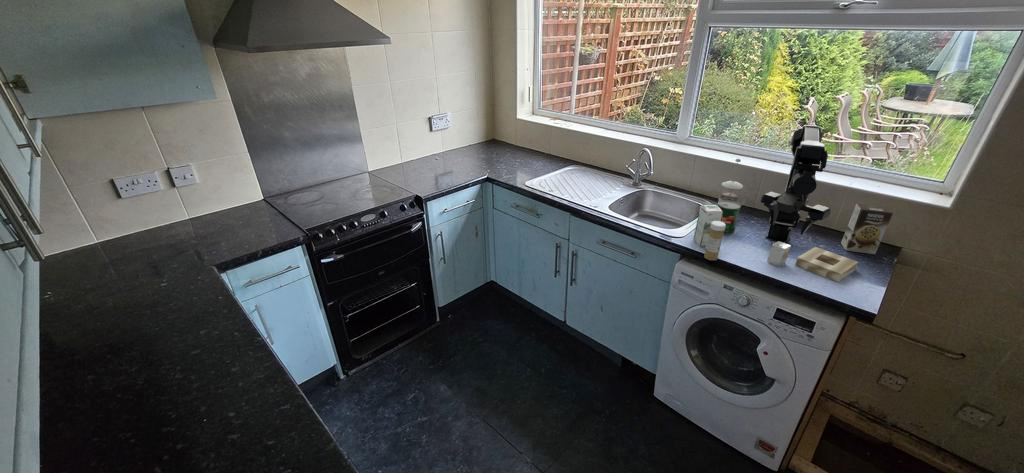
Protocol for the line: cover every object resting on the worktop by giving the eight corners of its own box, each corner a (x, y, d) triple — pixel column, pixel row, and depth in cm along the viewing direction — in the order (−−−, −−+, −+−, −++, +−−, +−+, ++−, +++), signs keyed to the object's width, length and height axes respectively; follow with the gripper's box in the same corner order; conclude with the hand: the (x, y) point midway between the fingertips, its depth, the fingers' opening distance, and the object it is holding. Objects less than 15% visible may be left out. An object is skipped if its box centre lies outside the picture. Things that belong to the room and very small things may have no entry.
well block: (794, 265, 147) (797, 257, 145) (812, 254, 153) (815, 246, 152) (838, 282, 137) (841, 274, 136) (855, 269, 144) (858, 261, 142)
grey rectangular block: (767, 262, 149) (772, 244, 146) (773, 258, 151) (778, 241, 148) (779, 267, 146) (784, 248, 143) (785, 263, 148) (790, 245, 145)
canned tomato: (731, 226, 174) (737, 201, 169) (736, 235, 167) (743, 209, 162) (710, 225, 175) (715, 200, 170) (715, 234, 168) (720, 207, 163)
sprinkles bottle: (710, 253, 154) (717, 219, 148) (720, 259, 151) (729, 224, 145) (700, 256, 153) (708, 221, 147) (711, 262, 149) (719, 227, 143)
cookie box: (845, 250, 155) (861, 209, 148) (840, 243, 161) (855, 202, 154) (876, 254, 153) (893, 213, 145) (869, 246, 158) (886, 206, 151)
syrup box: (708, 239, 164) (715, 204, 158) (714, 246, 159) (723, 210, 152) (693, 239, 164) (700, 204, 158) (699, 247, 159) (707, 210, 152)
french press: (709, 210, 189) (721, 154, 177) (738, 211, 187) (752, 155, 176) (716, 220, 180) (729, 161, 169) (745, 221, 179) (760, 162, 167)
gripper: (757, 181, 138) (746, 225, 145) (822, 199, 124) (805, 246, 132) (775, 174, 144) (763, 217, 151) (838, 190, 130) (822, 237, 137)
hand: (787, 229), depth 142 cm, fingers open, 9 cm apart
